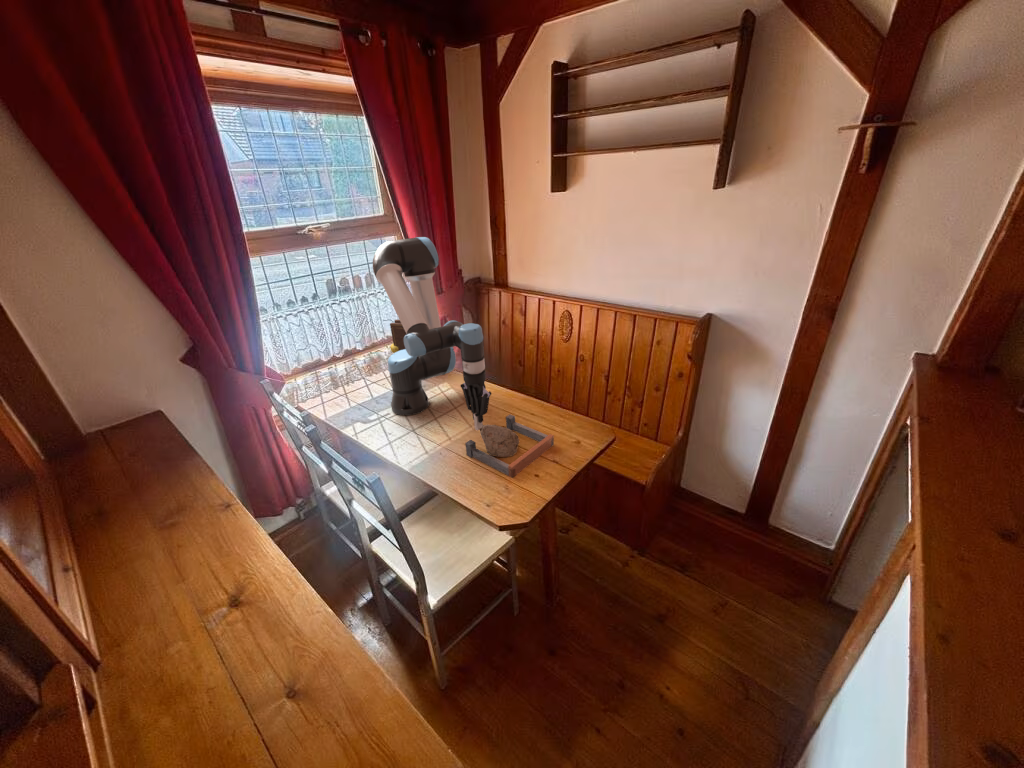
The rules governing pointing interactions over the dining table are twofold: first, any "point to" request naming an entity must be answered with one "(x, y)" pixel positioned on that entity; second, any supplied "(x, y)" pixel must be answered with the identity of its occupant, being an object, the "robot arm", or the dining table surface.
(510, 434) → the rock
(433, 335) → the robot arm
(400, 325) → the book
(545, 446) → the frame
